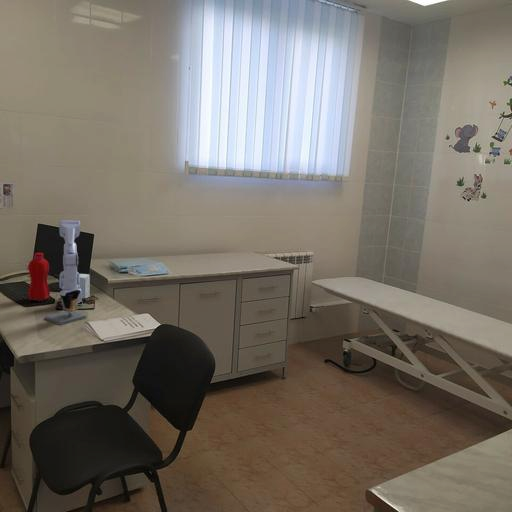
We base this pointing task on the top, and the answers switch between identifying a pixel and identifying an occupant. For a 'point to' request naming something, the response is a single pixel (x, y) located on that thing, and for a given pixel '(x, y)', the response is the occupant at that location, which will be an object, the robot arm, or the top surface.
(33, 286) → the water bottle
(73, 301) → the wooden cubby box
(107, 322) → the top surface
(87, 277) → the small box
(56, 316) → the flat gray board
